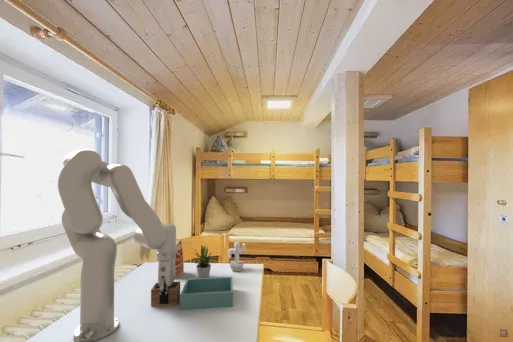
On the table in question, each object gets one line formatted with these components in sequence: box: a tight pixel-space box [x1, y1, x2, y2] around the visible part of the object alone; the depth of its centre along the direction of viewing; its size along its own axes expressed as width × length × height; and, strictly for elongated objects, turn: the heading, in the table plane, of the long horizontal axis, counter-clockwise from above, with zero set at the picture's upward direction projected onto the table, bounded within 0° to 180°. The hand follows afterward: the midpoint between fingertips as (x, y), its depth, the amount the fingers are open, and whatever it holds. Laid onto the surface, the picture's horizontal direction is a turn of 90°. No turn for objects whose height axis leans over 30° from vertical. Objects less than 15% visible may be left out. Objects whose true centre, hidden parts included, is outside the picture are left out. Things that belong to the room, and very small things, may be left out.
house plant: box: [190, 244, 214, 278], centre depth 126 cm, size 14×14×16 cm
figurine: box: [227, 241, 247, 272], centre depth 136 cm, size 7×9×15 cm
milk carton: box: [175, 237, 185, 279], centre depth 129 cm, size 9×9×20 cm
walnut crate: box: [150, 280, 181, 307], centre depth 102 cm, size 7×10×6 cm, turn 97°
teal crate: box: [179, 276, 234, 311], centre depth 104 cm, size 15×20×6 cm
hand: (166, 298), depth 102 cm, fingers closed on walnut crate, 6 cm apart
